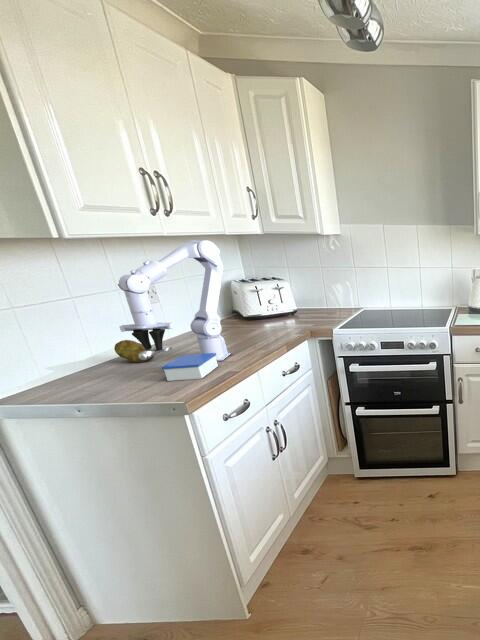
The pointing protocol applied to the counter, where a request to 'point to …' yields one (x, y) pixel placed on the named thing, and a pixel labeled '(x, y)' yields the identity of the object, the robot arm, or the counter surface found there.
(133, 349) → the potato
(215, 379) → the counter surface
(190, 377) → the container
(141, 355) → the spoon
